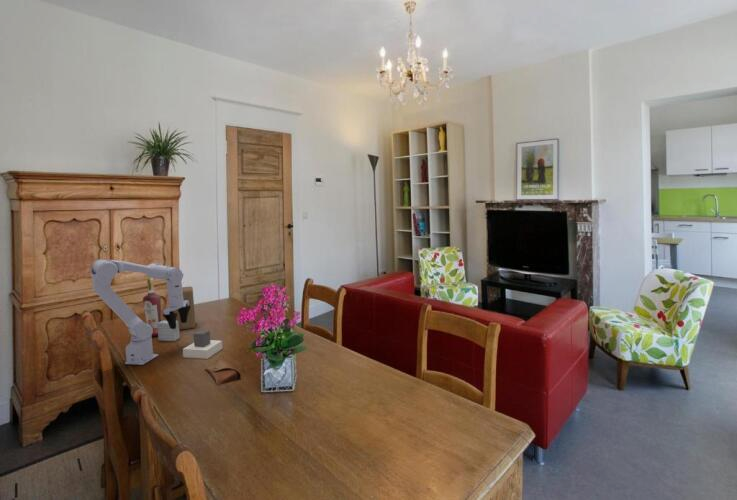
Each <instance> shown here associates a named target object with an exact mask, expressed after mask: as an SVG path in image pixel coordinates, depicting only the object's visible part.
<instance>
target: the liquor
mask: <svg viewBox="0 0 737 500" xmlns="http://www.w3.org/2000/svg"><path fill="white" fill-rule="evenodd" d="M146 284H147V294H146V295H145V296H144V297H142V300H143V301H142V302H143V308H144V314H145V321H146V322H145V323H146V324H148V325H150V326H151V327H152V328H153V333H152V335H151V337H152V338H153V337H155V338H156V337H158V328H157V323H159V322H161V321H162V304H161V303H162V301H161V295H160V294H157V293H156V292H155V286H154V278H150V277H147V278H146Z"/></svg>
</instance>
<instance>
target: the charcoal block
mask: <svg viewBox="0 0 737 500" xmlns="http://www.w3.org/2000/svg"><path fill="white" fill-rule="evenodd" d="M210 340H211V332H210V330H208V329H207V330H205V329H200V330H198V331H196V332H194V333H193V343H194V346H197V347H205V346H207V345H208V344H210Z"/></svg>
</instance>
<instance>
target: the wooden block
mask: <svg viewBox="0 0 737 500" xmlns="http://www.w3.org/2000/svg"><path fill="white" fill-rule="evenodd" d="M182 291H183V301H185V300H189V305H187V306H191V308H190V310H189V313H188V317H187V322H186V323H181V319H180V314H179V312H178V310H175V311H173V312H174V313H178V314H177V317H176V321H178V325H179V331H181V330H182V329H183V330H189V329H190V330H191V329H195V328H196V315H195V314H196V313H195V303H194V302H195V300H194V288H193V286H182Z"/></svg>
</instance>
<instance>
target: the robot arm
mask: <svg viewBox="0 0 737 500" xmlns="http://www.w3.org/2000/svg"><path fill="white" fill-rule="evenodd" d="M124 272H132V273H141V274H146V277H147V278H153V279H157V280H164V281H165V280H166V288H167V298H168V306H166V308H164V309H163V313H162V316H163V318H164V319H165V321H167V322H168V324H169V326H170V329H175V328H176V317H177V314H178V313H174V312H173V311H175V310H178V312H179V314H180V319H181V323H186V322H187V317H188V313H189V310H190V308H191V306H187V305H189V300H185V301H183V291H182V287H183V283H182V280H183V278H184V273H183V271H182V270H181V269H180V268H177V267H173V266H171V265H162V264H160V263H159V262H154V263H150V264H148V265H144V264H139V263H134V262H129V261H124V260H118V259H117V260H116V259H108V260H107V259H105V258H104V259H103V258H101V259H97V260H95V261H94V262H93V263H92V265H91V268H90V271H89V273H90V276H91V286H92V290H93V291H94V292H95V293H96V294H97V296H99V298H100V299H101V300H102V301H103V302H104V303H105V304H106V305H107V306H108V307H109V309H111V310H112V311H113V312H114V313H115V314H116V315H117V316H118V317H119V318H120V320H122V321H123V322H124V324H125V326H127V329H128V332H129V333H130V334H131V336H130V342H129V343H128V344H127V345H126V347H125V358H126V359H125V360H126V362H124V364H125V365H140V366H141V365H142V366H143V365H145V364H147V363H148V362H150V361H152V360H153V359H154V358H157V357H158V356H159V354H158V353H157V354H156V353H154V350H153V349H154V347H153V337H151V335H152V333H153V328H152V327H151V326H150V325H148V324H147V322H144V321H143V320H142V319H141V317H139V316H138V315H137V314H136V313H134V311H133V310H132V309H131V308H130V306H128V305H127V303H126V302H125V301H124V300H123V299H122V298H121V297H120V296H119V295H118V294H117V293H116V292H115V291H114V289H113V288H112V287H111V285H112V281H113V280H114V278H115V277H116V275H117V274H122V273H124Z"/></svg>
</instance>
